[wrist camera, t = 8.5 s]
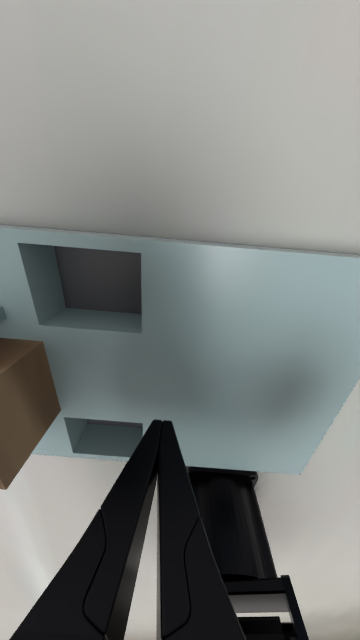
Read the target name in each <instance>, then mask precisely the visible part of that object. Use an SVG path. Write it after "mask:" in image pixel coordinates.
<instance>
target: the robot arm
mask: <svg viewBox="0 0 360 640" xmlns="http://www.w3.org/2000/svg"><path fill="white" fill-rule="evenodd" d="M157 474H158V479H157ZM257 480H258V475H257V472H256V471H246V470H233V469H220V468H207V467H194V466H190V467H189V468H188V472H187V469H186V466H185V463H184V459H183V456H182V453H181V449H180V446H179V443H178V439H177V436H176V433H175V429H174V426H173V423H172V421H170V420H163V422H162V420H157V419H154V420H153V421H152V422H151V424H150V425H149V427H148V429H147V430H146V432H145V434H144V435H143V437H142V439H141V440H140V442H139V444H138V445H137V447H136V449H135V450H134V452H133V454H132V455H131V457H130V459H129V460H128V462H127V464H126V465H125V467H124V469H123V470H122V472H121V474H120V475H119V477H118V479H117V480H116V482H115V484H114V485H113V487H112V489H111V490H110V492H109V494H108V495H107V497H106V499H105V500H104V502H103V504H102V505H101V509H99V510H98V512H97V513H96V515H95V517H94V518H93V520H92V522H91V523H90V525H89V526H88V528H87V530H86V531H85V533H84V534H83V536H82V538H81V539H80V541H79V542H78V544H77V545H76V547H75V548H74V550H73V551H72V553H71V554H70V555H69V557H68V558H67V560H66V561H65V563H64V564H63V566H62V567H61V568H60V570H59V571H58V573H57V574H56V575H55V577H54V578H53V580H52V581H51V582H50V584H49V585H48V587H47V588H46V589H45V591H44V592H43V594H42V595H41V596H40V598H39V599H38V601H37V602H36V603H35V605H34V606H33V608H32V609H31V610H30V612H29V613H28V615H27V616H26V617H25V619H24V620H23V622H22V623H21V624H20V626H19V627H18V629H17V630H16V631H15V633H14V634H13V635H12V637H11V638H10V639H9V640H124V635H125V631H126V626H127V621H128V616H129V611H130V607H131V602H132V597H133V592H134V587H135V582H136V578H137V573H138V568H139V563H140V558H141V553H142V549H143V544H144V539H145V534H146V529H147V524H148V520H149V515H150V510H151V505H152V500H153V496H154V491H155V486H156V481H157V640H309V639H308V636H307V632H306V629H305V626H304V623H303V619H302V616H301V613H300V610H299V607H298V603H297V600H296V597H295V594H294V590H293V587H292V584H291V581H290V577H289V575H281V578H277V574H276V570H275V566H274V563H273V559H272V555H271V551H270V547H269V543H268V540H267V536H266V532H265V528H264V524H263V520H262V517H261V513H260V509H259V505H258V501H257V498H256V494H255V490H254V487H255V485H256V482H257ZM259 612H289V615H290V619H291V622H284V623H281V621H280V618H279V616H276V617H237V616H236V613H259Z"/></svg>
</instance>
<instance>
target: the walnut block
mask: <svg viewBox="0 0 360 640" xmlns="http://www.w3.org/2000/svg"><path fill="white" fill-rule="evenodd" d="M60 411H61V408H60V404H59V401H58V397H57V393H56V389H55V385H54V382H53V378H52V374H51V370H50V366H49V363H48V359H47V355H46V351H45V347H44V344H43V341H34V340H22V339H10V338H0V489H7V488H8V487H9V485H10V484H11V482H12V481H13V479H14V478H15V476H16V475H17V473H18V472H19V471H20V469H21V468H22V466H23V465H24V463H25V462H26V460H27V459H28V458H29V456H30V455H31V453H32V452H33V450H34V449H35V447H36V446H37V445H38V443H39V442H40V440H41V439H42V437H43V436H44V434H45V433H46V431H47V430H48V429H49V427H50V426H51V424H52V423H53V421H54V420H55V418H56V417H57V416H58V414H59V413H60Z"/></svg>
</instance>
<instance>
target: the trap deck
mask: <svg viewBox="0 0 360 640" xmlns="http://www.w3.org/2000/svg"><path fill="white" fill-rule="evenodd" d="M0 338H10V339H22V340H34V341H43V344H44V347H45V351H46V355H47V359H48V363H49V366H50V370H51V374H52V378H53V382H54V385H55V389H56V393H57V397H58V401H59V404H60V408H61V411H60V413H59V414H58V416H57V417H56V418H55V420H54V421H53V423H52V424H51V426H50V427H49V429H48V430H47V431H46V433H45V434H44V436H43V437H42V439H41V440H40V442H39V443H38V445H37V446H36V447H35V449H34V450H33V452H32V453H31V454H38V455H51V456H64V457H77V458H90V459H103V460H116V461H128V460H129V459H130V457H131V455H132V454H133V452H134V450H135V449H136V447H137V445H138V444H139V442H140V440H141V439H142V437H143V435H144V434H145V432H146V430H147V429H148V427H149V425H150V424H151V422H152V421H153V420H154V419H157V420H162V422H163V420H170V421H172V423H173V426H174V429H175V433H176V436H177V439H178V443H179V446H180V449H181V453H182V456H183V459H184V463H185V466H194V467H207V468H220V469H233V470H246V471H259V472H272V473H285V474H298V475H300V474H301V473H302V471H303V470H304V468H305V466H306V465H307V463H308V461H309V460H310V458H311V456H312V455H313V453H314V452H315V450H316V448H317V447H318V445H319V443H320V442H321V440H322V439H323V437H324V435H325V434H326V432H327V430H328V429H329V427H330V426H331V424H332V422H333V421H334V419H335V417H336V416H337V414H338V413H339V411H340V409H341V408H342V406H343V404H344V403H345V401H346V400H347V398H348V396H349V395H350V393H351V391H352V390H353V388H354V387H355V385H356V383H357V382H358V380H359V378H360V255H356V254H344V253H332V252H320V251H308V250H296V249H284V248H273V247H261V246H249V245H237V244H225V243H213V242H201V241H190V240H178V239H166V238H154V237H142V236H130V235H119V234H107V233H95V232H83V231H71V230H59V229H47V228H36V227H24V226H12V225H0Z"/></svg>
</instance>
